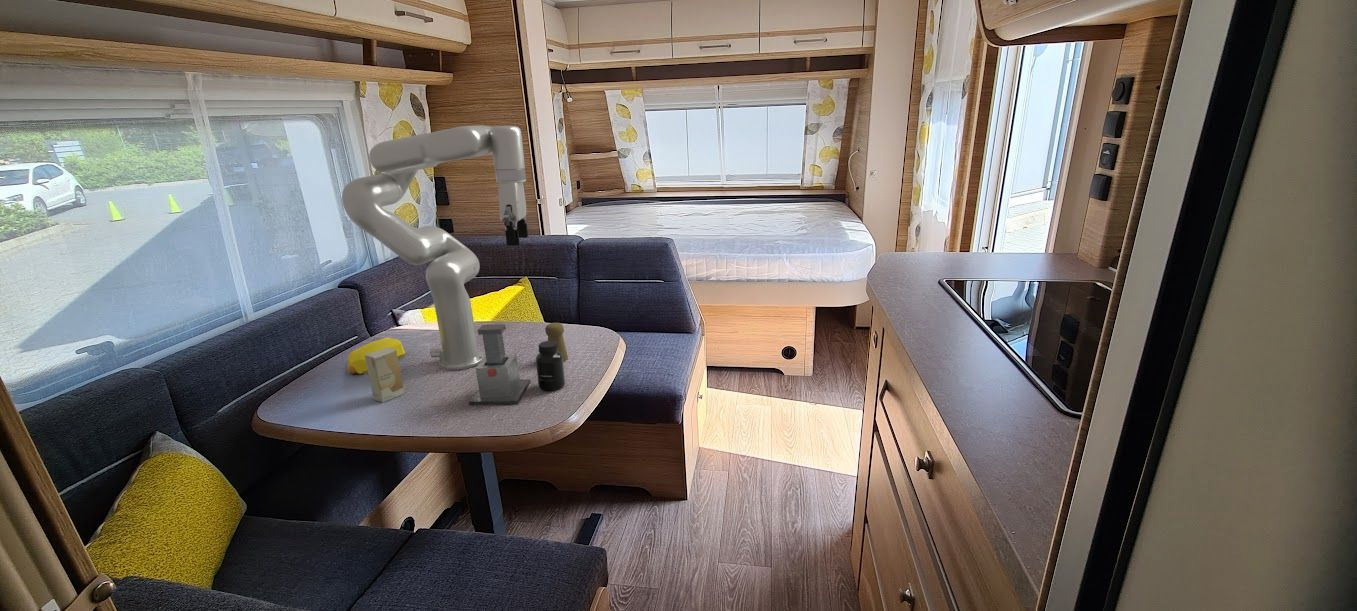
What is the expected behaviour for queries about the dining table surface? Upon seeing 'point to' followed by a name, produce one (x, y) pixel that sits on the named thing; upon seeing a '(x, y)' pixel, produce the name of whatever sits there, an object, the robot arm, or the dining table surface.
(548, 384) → the supplement bottle
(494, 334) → the column
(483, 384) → the stand base
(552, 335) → the olive knobbed figure
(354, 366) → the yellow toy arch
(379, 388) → the skincare box
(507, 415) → the dining table surface
